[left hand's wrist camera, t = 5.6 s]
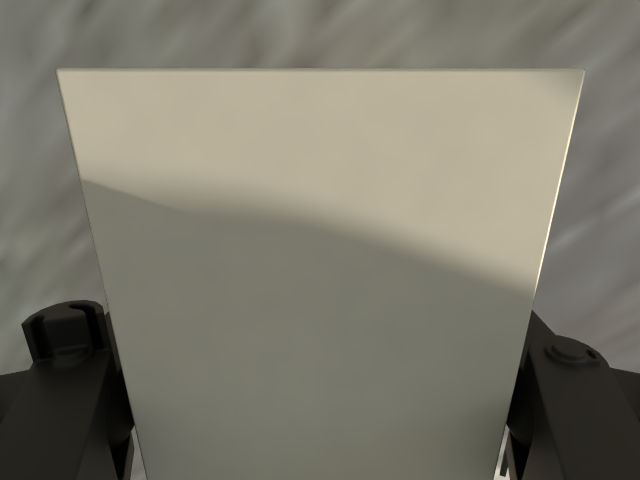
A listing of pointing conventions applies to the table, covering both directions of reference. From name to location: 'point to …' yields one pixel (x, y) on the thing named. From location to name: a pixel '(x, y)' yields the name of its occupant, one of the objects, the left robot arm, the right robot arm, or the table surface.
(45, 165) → the table surface
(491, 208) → the beam
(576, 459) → the left robot arm
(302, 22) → the table surface
